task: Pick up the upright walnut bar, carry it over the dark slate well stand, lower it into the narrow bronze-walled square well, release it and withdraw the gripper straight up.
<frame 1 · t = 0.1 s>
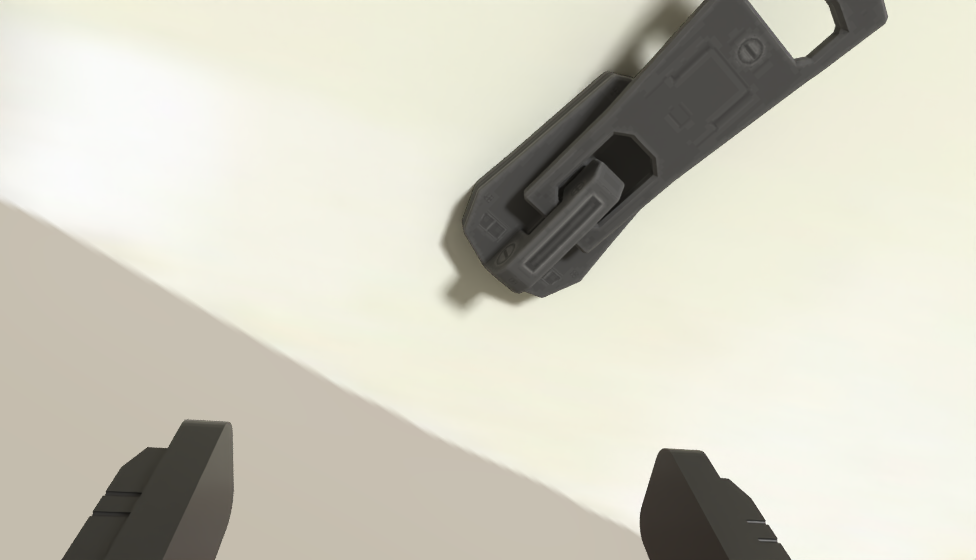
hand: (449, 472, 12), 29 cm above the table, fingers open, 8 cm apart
zipper pull: (628, 120, 39), on the table
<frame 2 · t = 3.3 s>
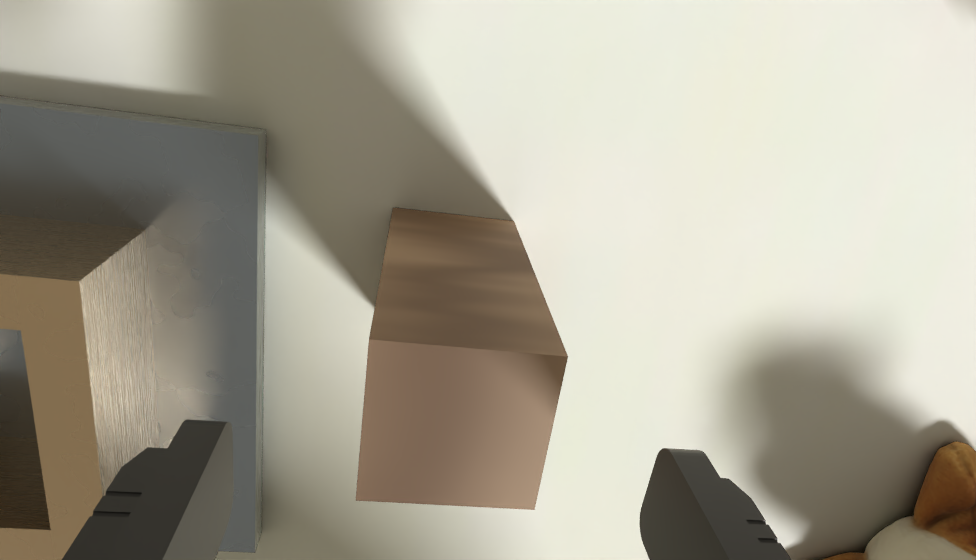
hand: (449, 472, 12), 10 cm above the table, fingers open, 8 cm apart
walnut bar: (446, 270, 22), on the table
well stand: (16, 338, 21), on the table
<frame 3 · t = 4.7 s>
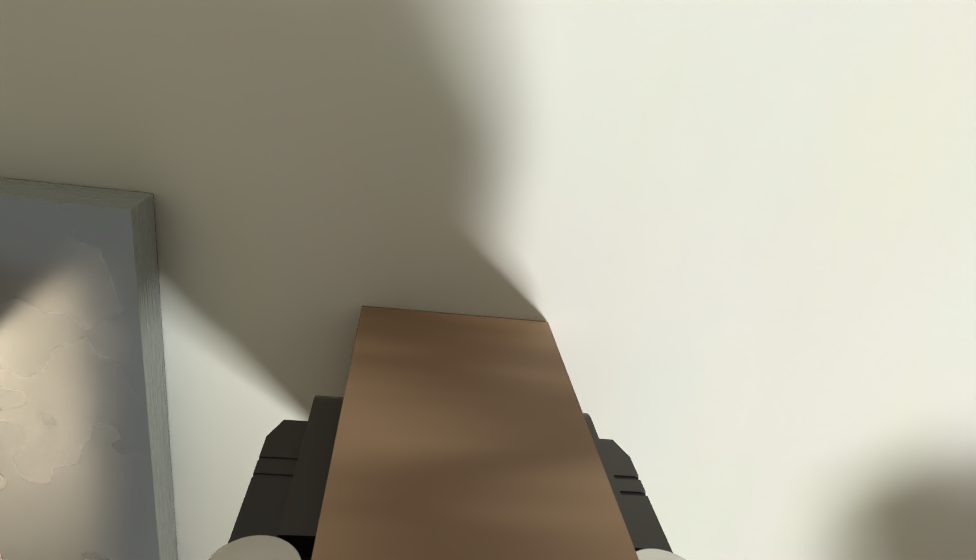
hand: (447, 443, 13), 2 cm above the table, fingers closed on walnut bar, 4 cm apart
walnut bar: (446, 392, 14), on the table, touching gripper
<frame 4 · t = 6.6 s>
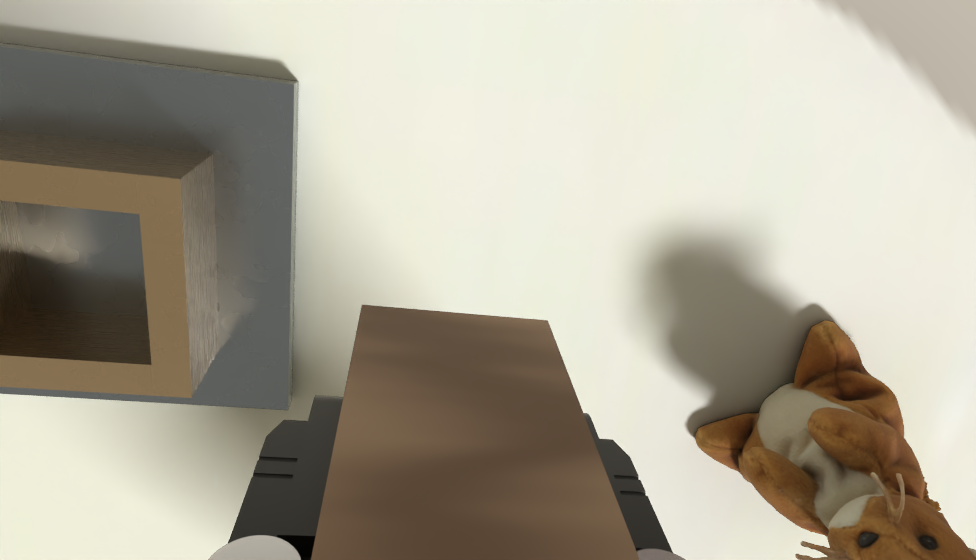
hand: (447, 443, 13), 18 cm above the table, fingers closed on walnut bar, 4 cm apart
stuffed squirrel: (803, 430, 38), on the table
walnut bar: (446, 391, 14), point 16 cm above the table, touching gripper
well stand: (112, 240, 29), on the table
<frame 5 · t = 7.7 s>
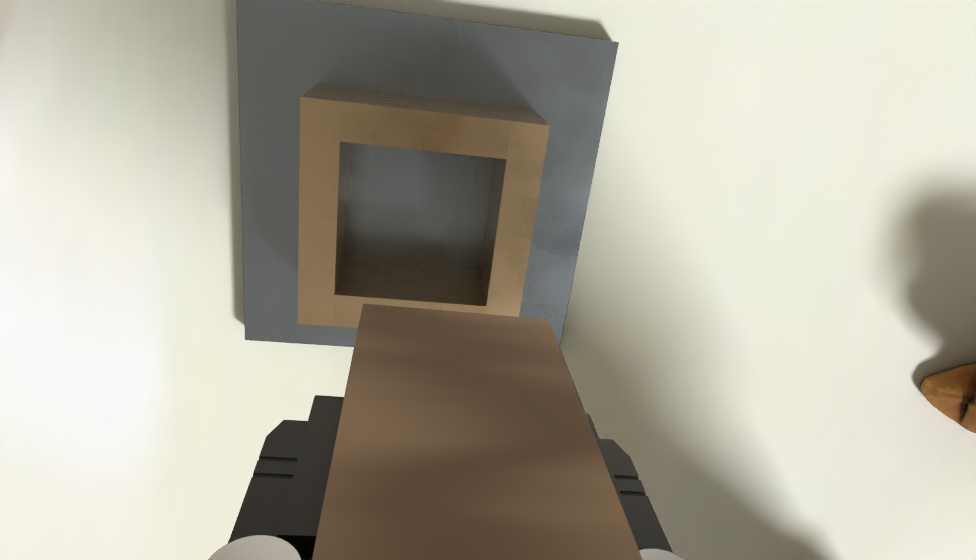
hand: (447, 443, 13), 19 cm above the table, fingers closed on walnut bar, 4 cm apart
walnut bar: (447, 390, 14), point 18 cm above the table, touching gripper
well stand: (419, 195, 31), on the table
when the fingers open (6 cm above the table, at t = 10.7 s): walnut bar drops 3 cm, resting on well stand.
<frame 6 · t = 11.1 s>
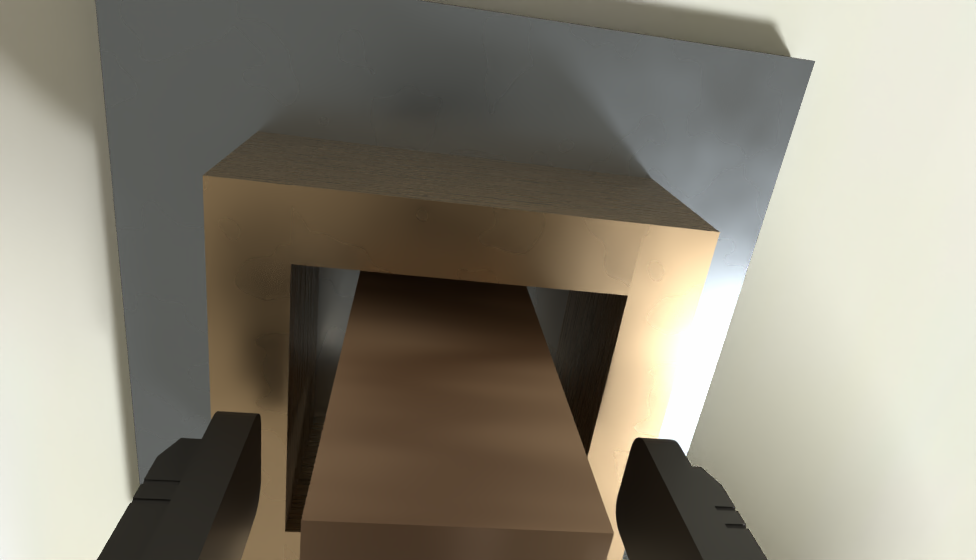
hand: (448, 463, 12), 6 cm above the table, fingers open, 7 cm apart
walnut bar: (434, 329, 17), point 1 cm above the table, touching well stand
well stand: (440, 313, 18), on the table
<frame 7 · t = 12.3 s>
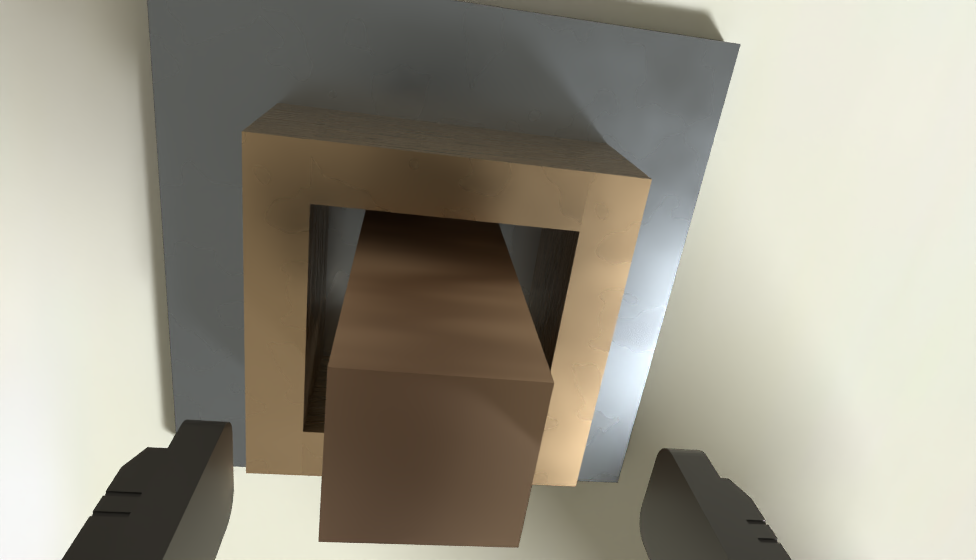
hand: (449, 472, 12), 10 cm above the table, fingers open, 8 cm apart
walnut bar: (426, 273, 20), point 1 cm above the table, touching well stand
well stand: (431, 262, 21), on the table
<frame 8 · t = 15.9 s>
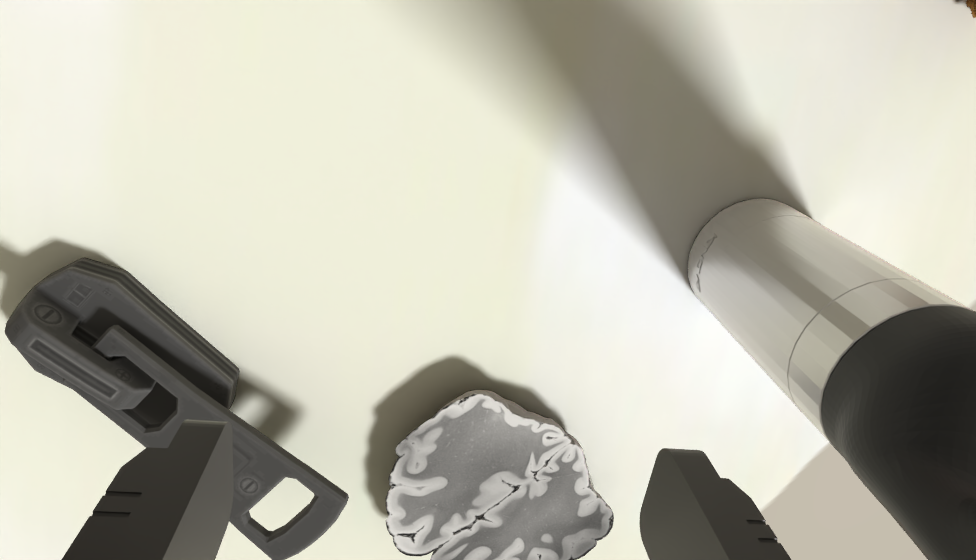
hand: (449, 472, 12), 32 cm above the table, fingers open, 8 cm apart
zipper pull: (201, 387, 47), on the table
brain slice: (490, 478, 54), on the table
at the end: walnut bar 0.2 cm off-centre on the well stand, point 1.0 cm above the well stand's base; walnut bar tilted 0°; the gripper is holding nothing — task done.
